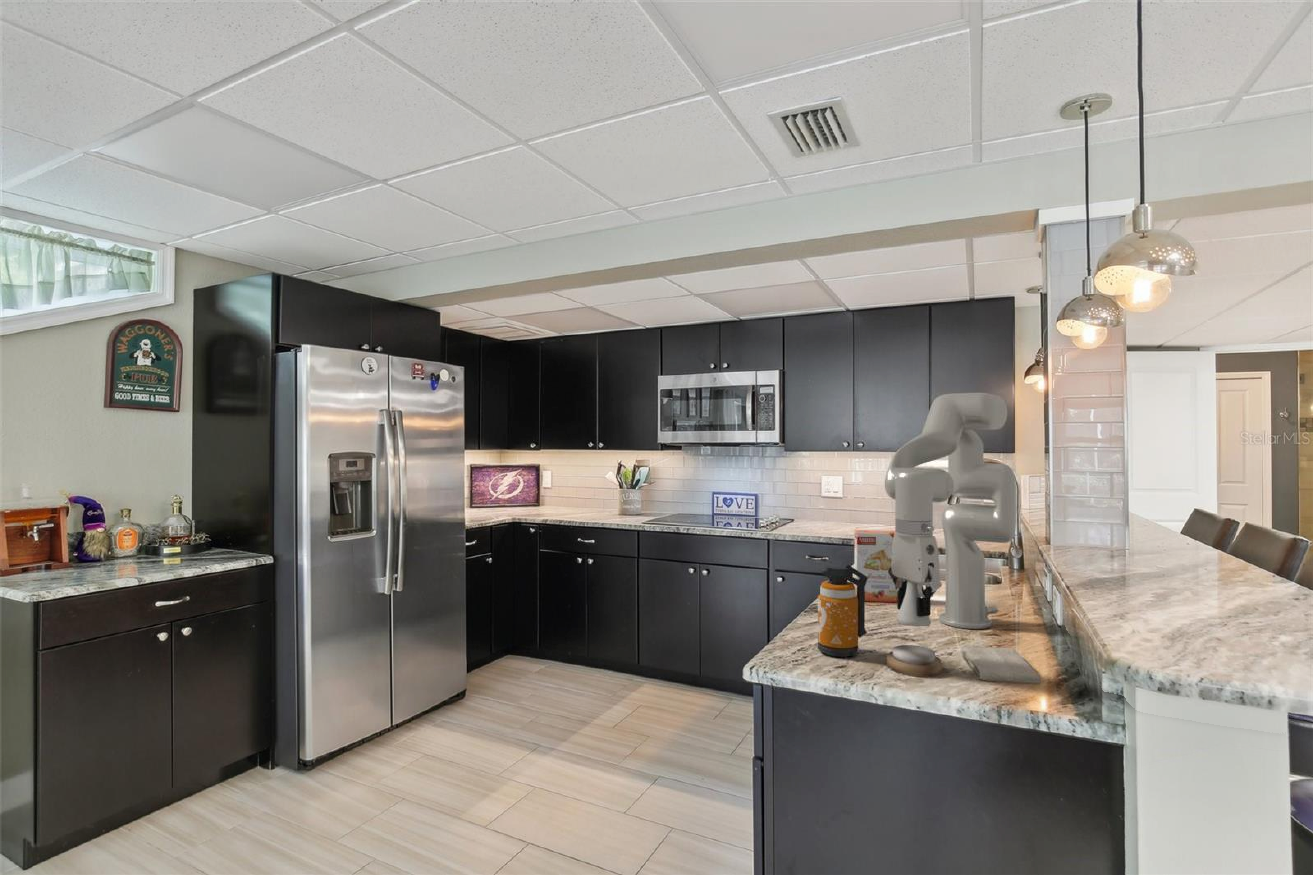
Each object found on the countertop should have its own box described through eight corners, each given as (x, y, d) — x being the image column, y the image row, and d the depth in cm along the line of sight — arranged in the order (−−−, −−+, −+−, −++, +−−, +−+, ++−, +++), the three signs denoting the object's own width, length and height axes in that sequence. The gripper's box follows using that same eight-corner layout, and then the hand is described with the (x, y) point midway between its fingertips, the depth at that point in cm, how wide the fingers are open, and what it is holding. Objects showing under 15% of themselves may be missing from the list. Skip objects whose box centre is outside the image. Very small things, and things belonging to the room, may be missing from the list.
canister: (814, 646, 160) (814, 561, 159) (861, 646, 159) (861, 562, 159) (822, 658, 151) (822, 569, 150) (872, 659, 150) (872, 569, 150)
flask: (934, 628, 140) (934, 581, 140) (898, 626, 142) (898, 579, 142) (928, 619, 147) (928, 573, 147) (893, 617, 149) (893, 572, 149)
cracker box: (856, 601, 201) (856, 531, 201) (853, 596, 207) (853, 529, 207) (905, 603, 199) (905, 533, 199) (901, 598, 205) (901, 530, 205)
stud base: (915, 656, 152) (915, 641, 152) (953, 672, 142) (953, 656, 142) (875, 662, 148) (875, 646, 148) (911, 679, 138) (911, 662, 138)
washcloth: (1013, 658, 152) (1013, 644, 152) (1042, 687, 135) (1043, 672, 135) (957, 655, 155) (957, 641, 155) (979, 683, 137) (979, 668, 137)
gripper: (958, 532, 138) (957, 621, 138) (900, 522, 154) (899, 601, 154) (929, 534, 135) (929, 624, 135) (873, 523, 151) (873, 604, 151)
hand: (913, 611), depth 145 cm, fingers closed on flask, 5 cm apart
